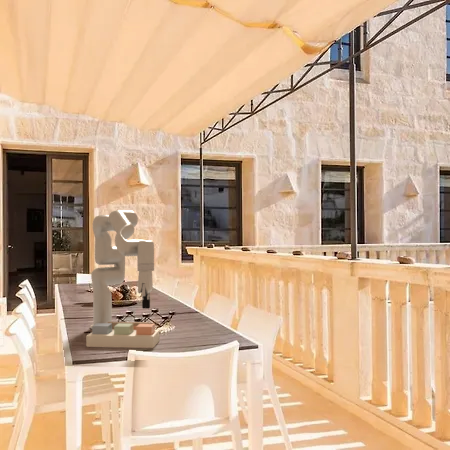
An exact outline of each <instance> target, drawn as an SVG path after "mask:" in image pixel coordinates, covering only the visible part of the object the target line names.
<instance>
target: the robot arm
mask: <svg viewBox="0 0 450 450" xmlns="http://www.w3.org/2000/svg"><path fill="white" fill-rule="evenodd" d="M138 222H139V218H138V214H137V213H136V212H135V211H133V210H125V209H123V210H122V209H119V210H118V209H117V210H116V209H115V210H113V211H111V212H109V214H99V215H97V216H95V217H94V218H93V220H92V231H93V234H94V262H95V263H96V264H97V265H100V267H97V268H94V269H93V270H92V271H91V276H90V277H91V278H90V279H91V283H92V303H93V304H92V307H93V308H92V309H93V311H92V312H93V313H92V314H93V315H92V321H93V322H92V324H91V325H89V327H90V330H92V326H93V325H95V324H97V323H108V322H113V315H112V314H113V312H112V311H113V310H112V309H113V305H112V303H113V300H112V298H113V297H112V296H113V295H112V292H111V290H110V288H109V287H108V286H113V285H114V286H115V285H121V284H122V283H124V281H125V276H126V257H137V260H136V261H137V266H136V267H137V272H138V280H137V293H138V294H141V301H142V302H141V303H142V304H141V308H142V309H143V310H144V309H148V310H149V309H150V308H151V292H153V283H154V282H153V272H154V271H155V243H154V241H153V240H145V239H130V238H131V237H132V236H133V235H134V234H135V227H136V226H137V225H138ZM109 232H116V233H115V237H114V245H115V246H112V242H113V241H112V240H113V239H112V236H111V234H110V233H109ZM105 265H106V266H107V265H109V266H107V267H106V266H105ZM111 265H113V266H111ZM101 266H105V267H101Z"/></svg>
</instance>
